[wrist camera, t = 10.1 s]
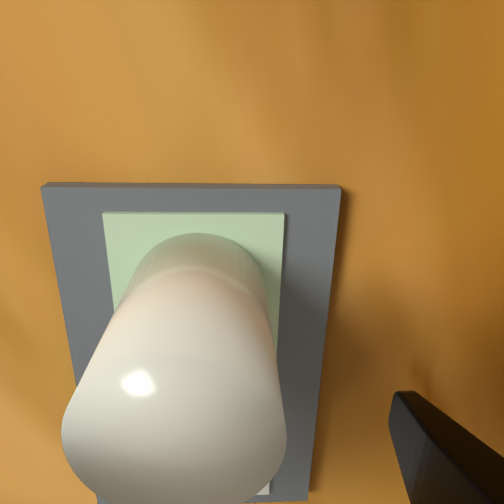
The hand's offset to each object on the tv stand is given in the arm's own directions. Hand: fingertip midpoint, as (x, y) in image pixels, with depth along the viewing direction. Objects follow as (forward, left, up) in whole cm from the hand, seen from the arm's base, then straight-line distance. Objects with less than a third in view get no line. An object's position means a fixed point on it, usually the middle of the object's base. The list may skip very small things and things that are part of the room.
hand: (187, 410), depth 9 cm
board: (-4, 0, -6) cm, 7 cm away
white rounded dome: (0, 0, -5) cm, 5 cm away
